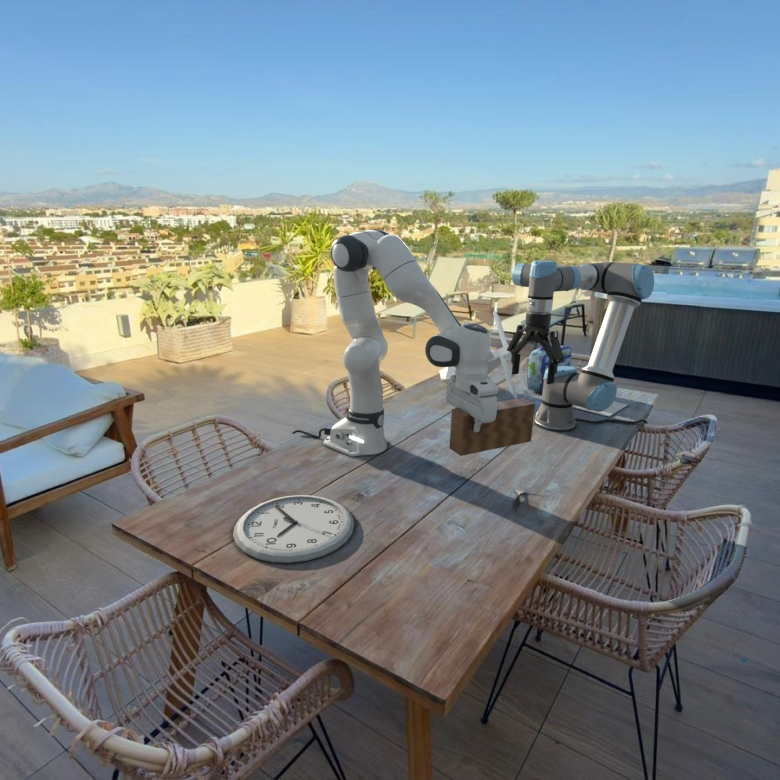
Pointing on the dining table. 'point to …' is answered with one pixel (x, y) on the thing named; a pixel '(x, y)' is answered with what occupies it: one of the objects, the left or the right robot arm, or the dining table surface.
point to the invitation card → (609, 411)
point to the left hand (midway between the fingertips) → (468, 427)
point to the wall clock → (293, 529)
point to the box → (493, 428)
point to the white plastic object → (494, 363)
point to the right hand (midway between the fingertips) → (532, 378)
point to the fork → (519, 491)
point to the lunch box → (542, 367)
